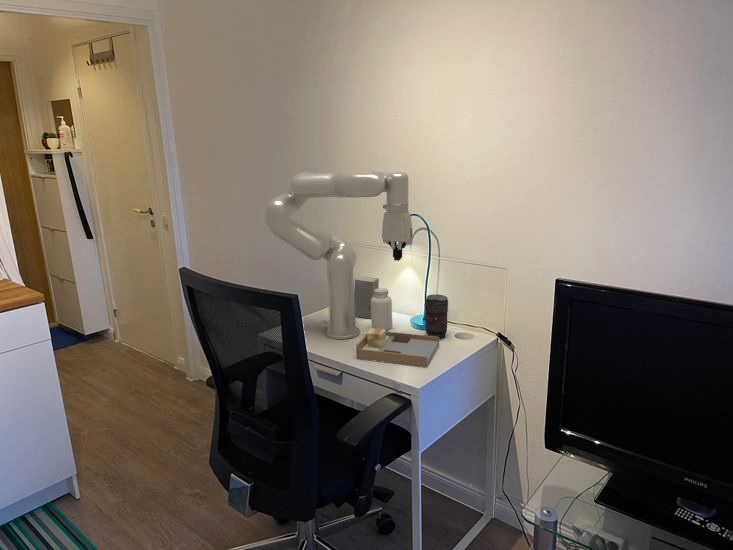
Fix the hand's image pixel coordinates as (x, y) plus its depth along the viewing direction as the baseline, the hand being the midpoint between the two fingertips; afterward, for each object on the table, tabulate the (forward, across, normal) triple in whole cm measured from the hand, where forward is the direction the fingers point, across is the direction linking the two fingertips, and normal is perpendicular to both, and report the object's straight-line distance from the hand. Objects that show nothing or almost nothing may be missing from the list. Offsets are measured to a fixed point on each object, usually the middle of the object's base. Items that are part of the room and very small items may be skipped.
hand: (397, 259), depth 201 cm
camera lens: (+29, +14, +3) cm, 32 cm away
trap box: (+28, +6, -16) cm, 33 cm away
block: (+26, -2, -16) cm, 31 cm away
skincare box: (+29, -19, +16) cm, 38 cm away
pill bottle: (+29, -8, +5) cm, 30 cm away
